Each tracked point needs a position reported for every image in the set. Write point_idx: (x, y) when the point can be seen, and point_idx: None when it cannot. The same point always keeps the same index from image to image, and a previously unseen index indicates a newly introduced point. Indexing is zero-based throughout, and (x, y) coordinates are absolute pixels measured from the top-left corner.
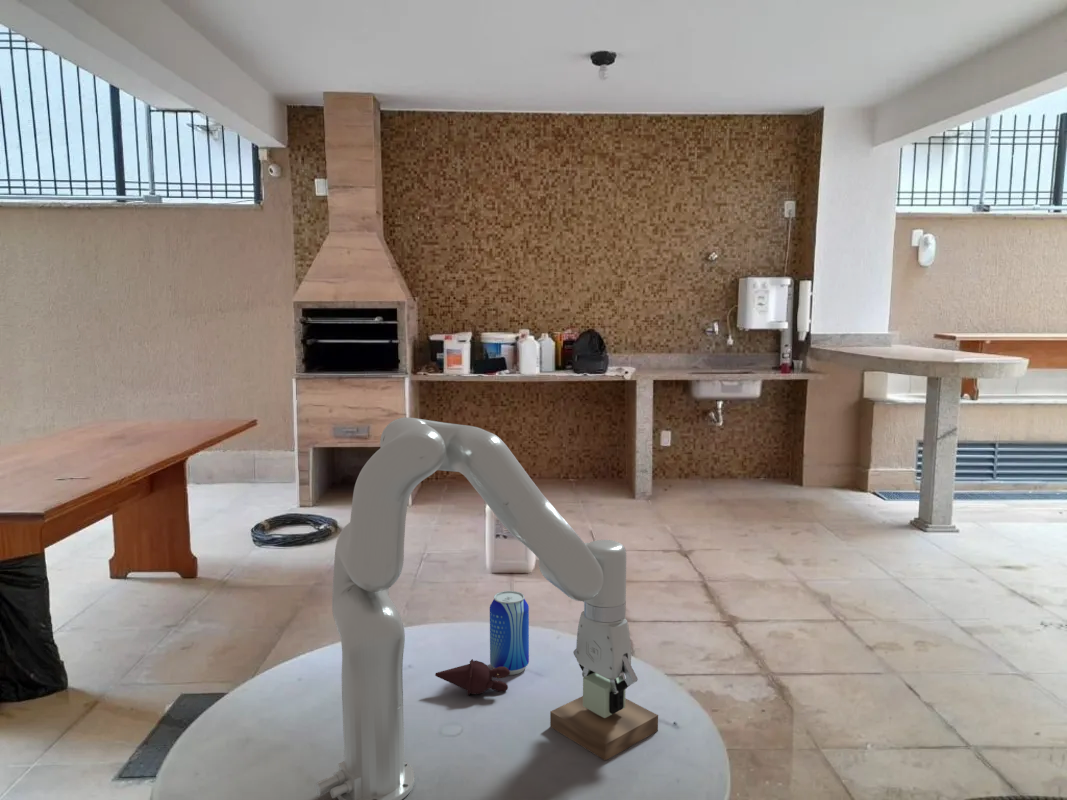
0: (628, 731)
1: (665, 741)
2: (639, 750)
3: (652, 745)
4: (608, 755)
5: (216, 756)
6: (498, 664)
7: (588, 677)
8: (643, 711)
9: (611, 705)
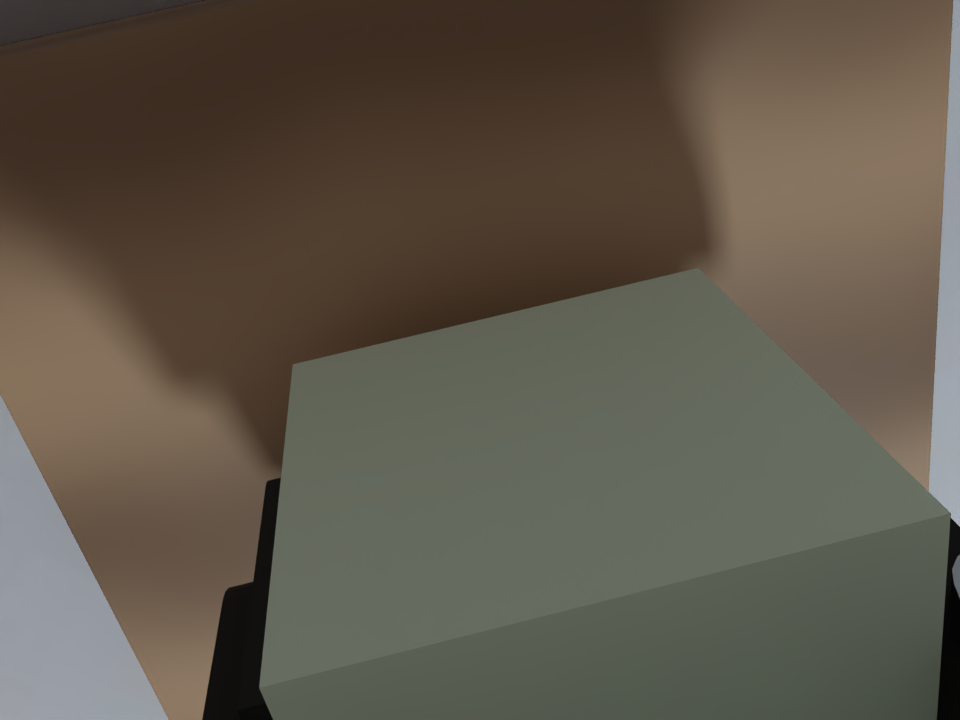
0: (49, 488)
1: (74, 686)
2: (19, 456)
3: (55, 581)
4: None
5: None
6: None
7: (877, 609)
8: None
9: (259, 551)
